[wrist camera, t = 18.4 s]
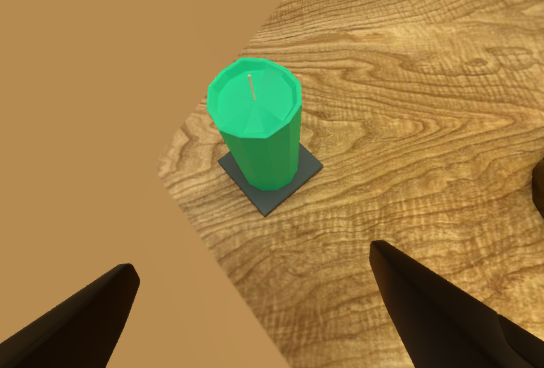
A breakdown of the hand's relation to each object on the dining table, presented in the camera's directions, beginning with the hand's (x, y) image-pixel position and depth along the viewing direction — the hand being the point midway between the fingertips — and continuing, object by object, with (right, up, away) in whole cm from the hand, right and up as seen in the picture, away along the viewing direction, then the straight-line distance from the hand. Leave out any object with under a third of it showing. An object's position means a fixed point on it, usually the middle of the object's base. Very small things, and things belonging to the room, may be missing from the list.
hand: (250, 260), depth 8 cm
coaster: (+1, +5, +16) cm, 17 cm away
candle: (+1, +5, +15) cm, 16 cm away
